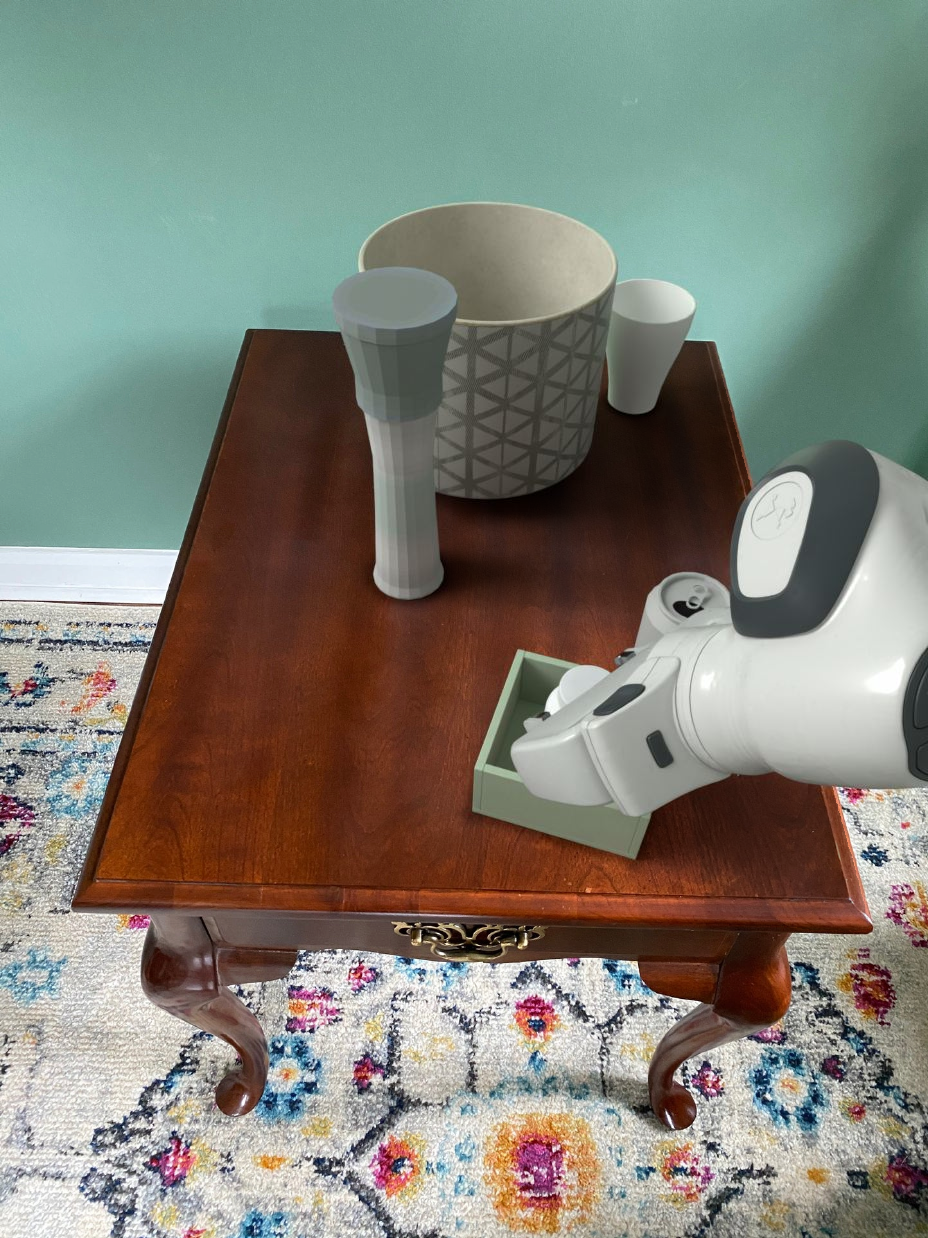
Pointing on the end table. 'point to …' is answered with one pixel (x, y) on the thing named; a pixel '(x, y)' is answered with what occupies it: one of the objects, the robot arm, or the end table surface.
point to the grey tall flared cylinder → (400, 410)
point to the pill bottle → (574, 686)
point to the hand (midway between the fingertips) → (580, 693)
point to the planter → (510, 339)
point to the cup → (645, 340)
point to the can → (678, 603)
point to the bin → (504, 788)
